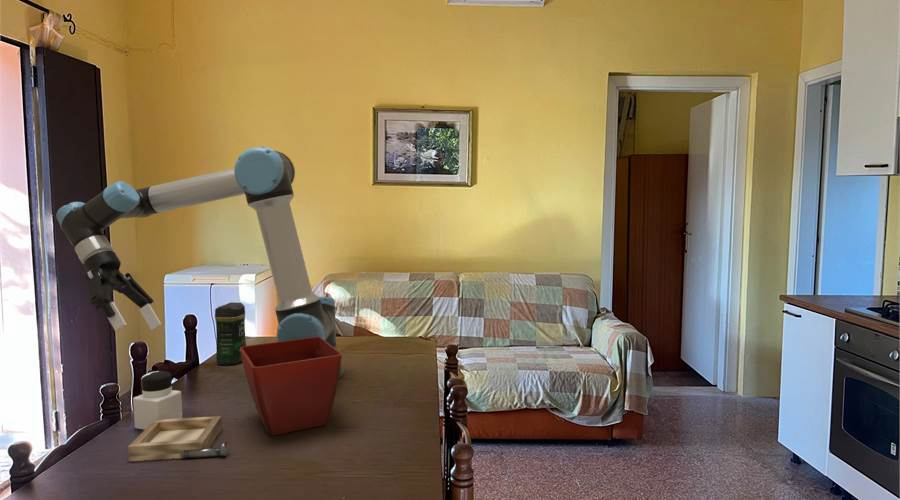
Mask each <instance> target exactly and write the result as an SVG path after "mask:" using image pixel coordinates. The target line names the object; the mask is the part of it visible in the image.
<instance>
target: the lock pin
mask: <svg viewBox="0 0 900 500" xmlns="http://www.w3.org/2000/svg"><path fill="white" fill-rule="evenodd" d="M228 454H229V443H228V441H226V442H225V441H224V442H221V443H220V446H219V447H210V448H207V449H196V450H183V451H182V452H181V453H180V456H181V457H182V458H181V459H195V458H210V457H211V458H213V457H227V456H228Z"/></svg>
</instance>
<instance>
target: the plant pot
mask: <svg viewBox="0 0 900 500" xmlns="http://www.w3.org/2000/svg"><path fill="white" fill-rule="evenodd" d="M336 349H337V348H336ZM336 349H335V348H334V347H332V346H331V345H330V344H329V343H328V342H326V341H325V340H324V339H323V338H321V337H311V338H303V339H295V340H288V341H280V342H278V341H274V342H266V343H259V344H258V343H257V344H250V345H246V346H243V347H240V352H241V357H242V361H241V362H242V365H243V366H242V367H243V370H244V373H245V378H246V381H247V385H248V387H249V391H250V394H251V397H252V400H253V403H254V406H255V409H256V410H257V411H256V412H257V414H258V416H259V418H260V421H261V422H262V424H263V426H264V428H265V430H266V432H267V435H269V436H272V437H273V436H278V435H282V434H287V433H293V432H297V431H302V430H303V431H304V430H308V429H313V428H317V427H322V426H325V425H327V423H328V421H329V419H330V415H331V413H332V412H331V411H332V409H333V405H334V402H335V399H336V394H337V390H338V385H339V380H340V378H339V374H340V366H341V363H342V357H343V356H342V355H343V354H342V352H340V351H339V350H338V349H337V350H336Z"/></svg>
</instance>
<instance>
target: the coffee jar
mask: <svg viewBox="0 0 900 500" xmlns="http://www.w3.org/2000/svg"><path fill="white" fill-rule="evenodd" d="M214 320H215V330H216V350H215V351H216V354H215V355H216V356H215V357H216V361H215V362H216V363H217V364H219V365H223V366H230V365H236V364H239V363H241V362H242V357H241V352H240V347H243V346H247V339H246V329H245V328H246V327H245V326H246V323H245V322H246V321H245V320H246V306H245V305H244V303H242V302H234V301H233V302H229V303H226V304H223V305H220V306H218V307H216V308H215V309H214Z"/></svg>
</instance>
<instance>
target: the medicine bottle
mask: <svg viewBox="0 0 900 500" xmlns="http://www.w3.org/2000/svg"><path fill="white" fill-rule="evenodd" d="M140 380H141V391H142V392H141V393H142V394H139V395H138V396H137V395H136V396H134V397H133V398H132V404H133V405H132V406H133V416H134V417H133V419H134V429H138V430H143V431H144V430H145V429H146V428H147V427H148V426H149V425H150V424H151V423H152V422H153V421H154V420H160V419H177V418H184V417H183V400H182V397H183V396H182V391H180V390H173V383H172V373H171V372H169V371H165V370H157V371H156V370H155V371H151V372H148V373H146V374H143V376H142V377H141V379H140Z"/></svg>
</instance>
